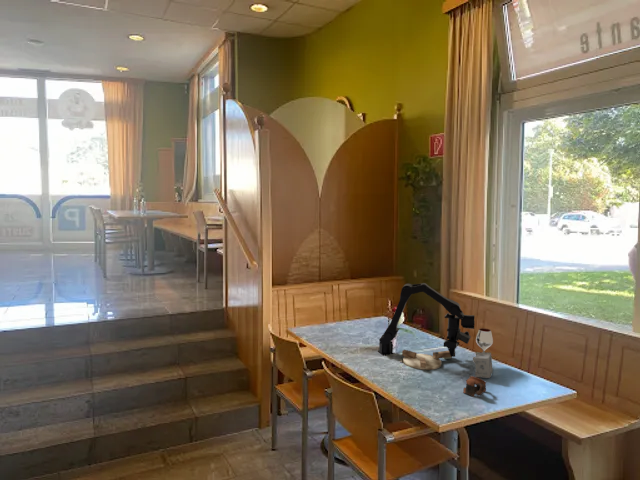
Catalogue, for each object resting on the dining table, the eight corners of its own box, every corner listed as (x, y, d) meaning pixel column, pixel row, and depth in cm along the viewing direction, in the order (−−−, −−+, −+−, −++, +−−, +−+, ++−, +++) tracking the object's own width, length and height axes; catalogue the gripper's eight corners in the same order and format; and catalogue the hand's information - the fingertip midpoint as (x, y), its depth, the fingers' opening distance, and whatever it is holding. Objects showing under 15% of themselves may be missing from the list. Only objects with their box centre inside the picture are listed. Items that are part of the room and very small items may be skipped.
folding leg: (434, 359, 245) (435, 353, 245) (432, 357, 247) (432, 351, 247) (455, 356, 249) (455, 351, 249) (452, 354, 252) (452, 349, 251)
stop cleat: (443, 359, 250) (444, 352, 250) (441, 357, 252) (441, 351, 252) (451, 358, 252) (452, 351, 251) (449, 356, 254) (449, 350, 253)
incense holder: (475, 370, 235) (476, 349, 234) (492, 373, 231) (494, 352, 230) (471, 377, 226) (472, 355, 225) (490, 380, 223) (491, 358, 222)
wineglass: (491, 362, 246) (493, 328, 244) (491, 368, 238) (493, 333, 236) (474, 360, 249) (476, 326, 247) (474, 365, 241) (476, 331, 239)
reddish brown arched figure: (457, 391, 211) (463, 373, 213) (475, 399, 213) (481, 381, 215) (472, 395, 200) (479, 376, 202) (491, 404, 201) (497, 385, 203)
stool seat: (416, 372, 231) (416, 363, 231) (395, 358, 250) (396, 350, 250) (449, 367, 238) (449, 359, 237) (427, 354, 257) (427, 347, 256)
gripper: (467, 333, 233) (465, 364, 235) (472, 324, 250) (470, 353, 252) (443, 330, 238) (442, 360, 240) (450, 321, 255) (449, 350, 256)
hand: (452, 356), depth 247 cm, fingers closed
